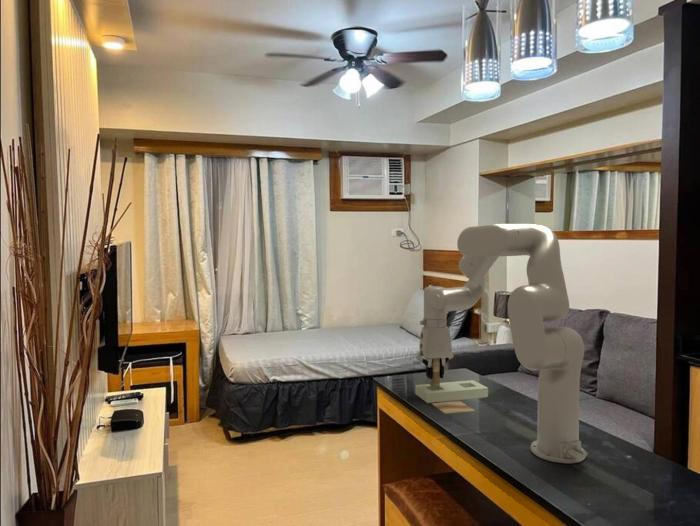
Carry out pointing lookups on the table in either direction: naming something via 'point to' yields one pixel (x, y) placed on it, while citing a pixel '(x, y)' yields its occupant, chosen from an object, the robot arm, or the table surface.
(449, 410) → the cork mat
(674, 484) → the table surface
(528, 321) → the robot arm
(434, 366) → the peg
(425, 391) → the hole block
